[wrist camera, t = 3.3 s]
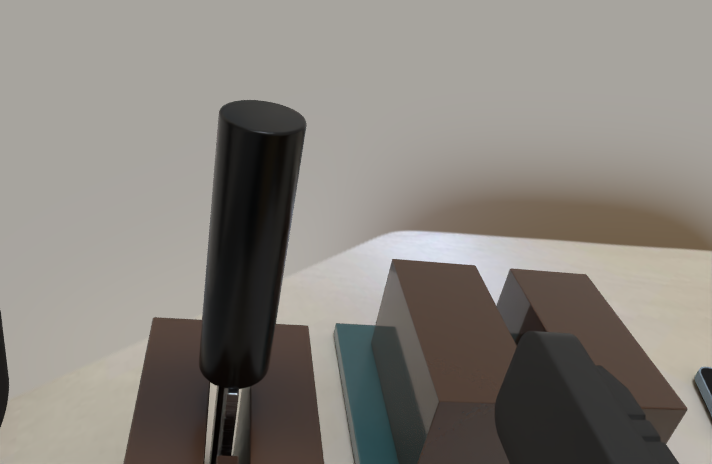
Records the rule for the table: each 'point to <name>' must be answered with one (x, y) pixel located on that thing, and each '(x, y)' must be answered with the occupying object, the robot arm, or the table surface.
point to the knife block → (191, 399)
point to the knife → (247, 246)
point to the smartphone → (705, 385)
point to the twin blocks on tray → (472, 360)
